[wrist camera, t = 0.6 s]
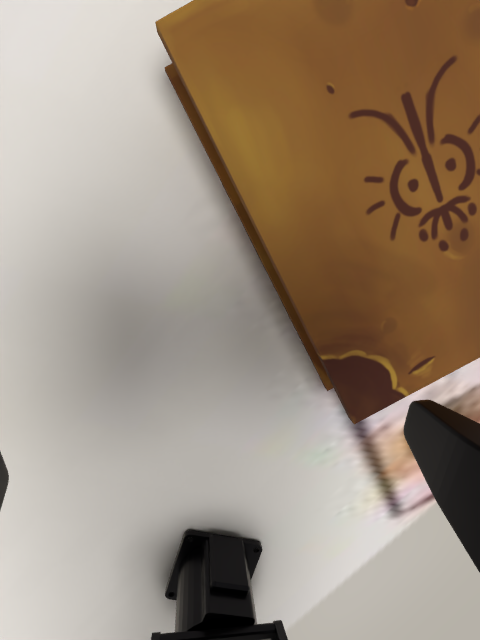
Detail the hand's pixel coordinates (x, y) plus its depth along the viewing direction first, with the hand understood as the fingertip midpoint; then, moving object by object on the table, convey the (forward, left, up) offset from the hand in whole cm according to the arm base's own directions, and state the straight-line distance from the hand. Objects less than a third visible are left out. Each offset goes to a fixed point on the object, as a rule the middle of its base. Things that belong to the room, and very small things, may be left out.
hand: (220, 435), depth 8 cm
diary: (+11, -9, -17) cm, 22 cm away
